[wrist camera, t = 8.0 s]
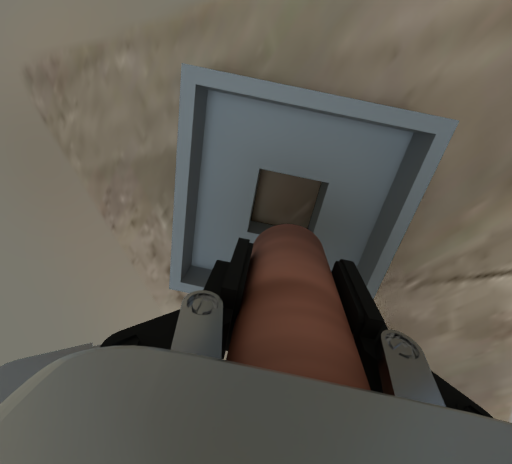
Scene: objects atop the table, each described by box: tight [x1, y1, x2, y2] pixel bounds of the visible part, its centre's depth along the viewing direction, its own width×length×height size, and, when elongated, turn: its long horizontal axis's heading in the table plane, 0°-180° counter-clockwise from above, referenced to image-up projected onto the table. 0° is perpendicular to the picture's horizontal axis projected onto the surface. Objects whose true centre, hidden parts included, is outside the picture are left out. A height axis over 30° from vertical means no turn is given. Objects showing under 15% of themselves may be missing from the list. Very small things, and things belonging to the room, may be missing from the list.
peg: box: [226, 224, 371, 390], centre depth 9 cm, size 4×4×10 cm
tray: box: [169, 63, 459, 299], centre depth 22 cm, size 18×18×6 cm
